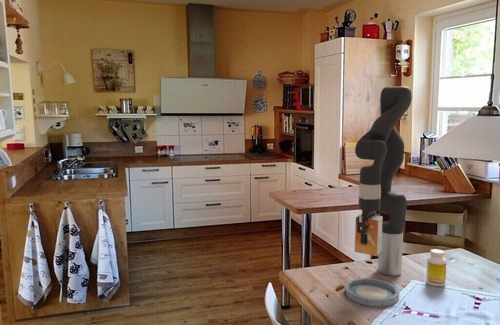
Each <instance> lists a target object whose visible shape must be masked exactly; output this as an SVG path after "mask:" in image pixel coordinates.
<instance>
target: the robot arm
mask: <svg viewBox="0 0 500 325" xmlns="http://www.w3.org/2000/svg"><path fill="white" fill-rule="evenodd" d="M412 98H413V95H412V90H411V88H410V87H409V86H404V85H402V86H385V87H383V88H382V89H381V90H380V97H379V99H380V100H379V102H380V103H379V106H380V110H379V111H380V115H379V116H378V117H377V118H376V119H375V120H374V122H373V123H372V124H371V127H370V128H369V129H370V130H368V131H367V132H366V133H364V134H363V136H361V138H359V140H358V141H356V145H355V148H354V153H355V156H356V158H358V159H360V160H369V161H373V163H372V165H371V164H370V165H366V166H362V167H360V170H359V186H358V203H357V204H358V209H359V210H361V214H362V216H361V217H360V216H358V215H357V216H358V217H357V216H356V217H357V233H361V242H360V243H361V244H364V245H366V244H367V233H368V229H369V228H370V223H368V225H365V222H368V219H369V218H370V219H373V217H377V216H381V213H382V214H385V215H389V220H387V221H382V246H381V252H380V253H379V254H378V255H377V257H378V258H377V261H378V262H377V271H378V273H380V274H382V275H386V276H391V277H393V276H400V275H401V274H402V271H403V270H402V268H403V243H404V240H403V239H404V228H405V225H406V219H407V218H406V217H407V210H408V209H407V206H408V204H407V203H408V202H407V198H406V196H405V195H404V194H402V193H399V192H392V183H393V179H394V177H395V175H396V173H398V171H399V169H400V168H401V166H402V164H403V162H404V158H405V142H404V140H403V138H402V136H401V134H400V133H399V131H398V130H397V128H396V124H398V122H399V121H400V119H401V118H402V117H403V116H404V115H405V113H406V112H407V111H408V109H409V108H410V106H411V103H412ZM365 219H366V220H365ZM360 227H361V228H360ZM365 228H366V230H365Z"/></svg>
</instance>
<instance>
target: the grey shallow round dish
mask: <svg viewBox="0 0 500 325" xmlns="http://www.w3.org/2000/svg"><path fill="white" fill-rule="evenodd" d="M345 294H346V297H348V298H349V299H350V300H352V301H353V302H355V303H357V304H360V305H364V306H368V307H374V308H375V307H378V308H379V307H383V308H384V307H389V306H392V305H395V304H396V303H397V302H398V301H399V300H400V299H399V298H400V291H399V290H398V288H397V286H395V285H393V284H392V283H390V282H388V281H385V280H380V279H378V278H366V277H361V278H354V279H351V280H349V281H348V282H347V283H345Z"/></svg>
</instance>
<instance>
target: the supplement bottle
mask: <svg viewBox="0 0 500 325" xmlns="http://www.w3.org/2000/svg"><path fill="white" fill-rule="evenodd" d="M444 255H445V251H444V250H442V249H436V248H433V249H430V255H429V256H428V257H427V260H426V261H427V262H426V277H425V278H426V279H425V280H426V283H427V284H428V285H431V286H434V287H442V286H445V284H446V276H447V275H446V273H447V260H446V258H445V257H444Z"/></svg>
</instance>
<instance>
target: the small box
mask: <svg viewBox="0 0 500 325" xmlns="http://www.w3.org/2000/svg"><path fill="white" fill-rule="evenodd" d="M358 216H360V217H361V216H362V213H359V214H358V215H357V216H356V217H355V229H354V230H355V231H354V232H355V234H354V253H359V254H362V255H363V254H364V255H369V256H375V257H378V254H379V253H380V252H381V246H382V222H383V219H384V218H383V215H380V216H377V217H373V219H370V218H369V219H368V222H365V225H368V223H370V228H369V229H368V233H367V244H366V245H364V244H361V243H360V242H361V233H357V217H358ZM365 220H366V219H365ZM360 228H361V227H360ZM365 230H366V228H365Z"/></svg>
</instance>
